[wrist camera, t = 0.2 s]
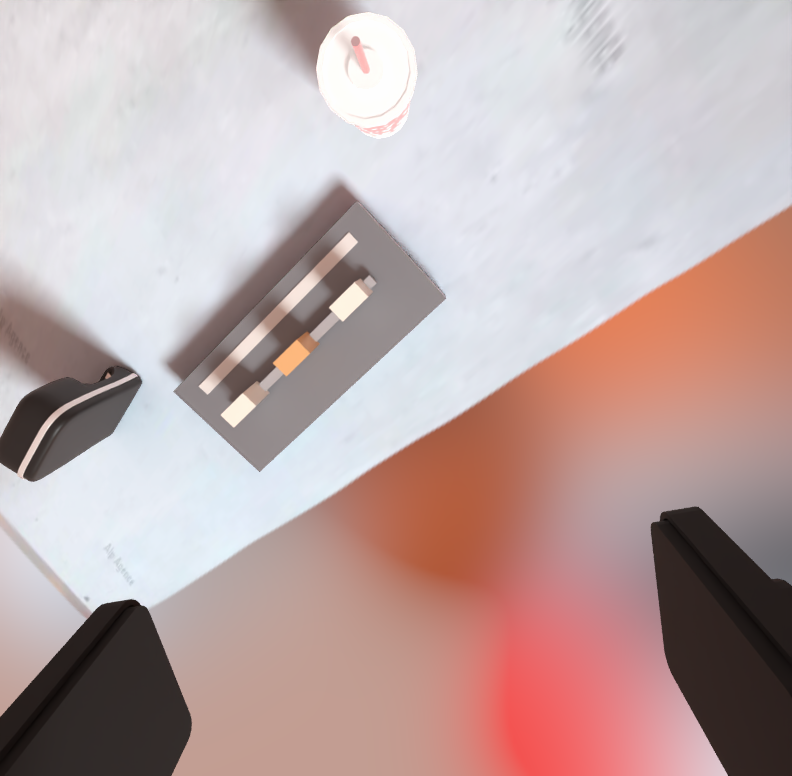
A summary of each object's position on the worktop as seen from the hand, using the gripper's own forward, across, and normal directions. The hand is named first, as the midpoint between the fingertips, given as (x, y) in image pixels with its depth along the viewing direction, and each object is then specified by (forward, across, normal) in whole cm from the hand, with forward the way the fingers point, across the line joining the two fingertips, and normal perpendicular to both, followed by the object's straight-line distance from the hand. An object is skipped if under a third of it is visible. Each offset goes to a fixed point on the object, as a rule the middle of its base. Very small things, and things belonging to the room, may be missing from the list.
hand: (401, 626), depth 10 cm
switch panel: (+37, +10, 0) cm, 38 cm away
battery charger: (+37, +29, +1) cm, 47 cm away
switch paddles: (+34, +10, 0) cm, 35 cm away
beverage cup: (+37, 0, -17) cm, 41 cm away
